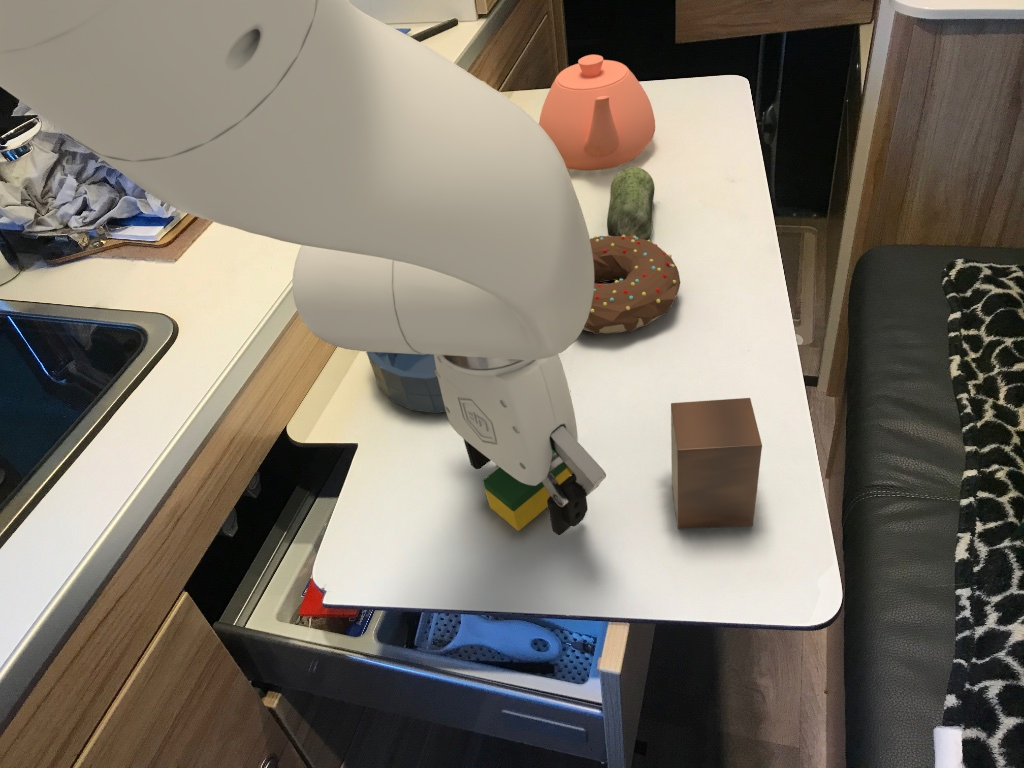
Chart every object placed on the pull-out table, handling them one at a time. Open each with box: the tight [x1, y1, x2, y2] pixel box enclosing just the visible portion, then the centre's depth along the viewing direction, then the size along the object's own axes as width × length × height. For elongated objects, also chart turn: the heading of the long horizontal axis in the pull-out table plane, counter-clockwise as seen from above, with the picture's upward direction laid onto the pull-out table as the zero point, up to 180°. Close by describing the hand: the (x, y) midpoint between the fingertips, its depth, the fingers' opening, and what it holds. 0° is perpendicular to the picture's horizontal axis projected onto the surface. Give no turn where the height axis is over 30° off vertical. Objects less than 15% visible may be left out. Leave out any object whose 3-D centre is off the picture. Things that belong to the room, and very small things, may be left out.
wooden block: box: [670, 397, 763, 530], centre depth 54 cm, size 6×4×9 cm
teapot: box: [538, 54, 656, 172], centre depth 97 cm, size 22×16×12 cm
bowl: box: [366, 352, 446, 414], centre depth 72 cm, size 15×15×5 cm
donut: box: [582, 235, 681, 335], centre depth 75 cm, size 14×14×5 cm
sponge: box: [482, 448, 571, 532], centre depth 59 cm, size 6×4×4 cm, turn 132°
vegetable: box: [606, 166, 656, 241], centre depth 85 cm, size 14×5×5 cm, turn 171°
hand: (527, 488), depth 59 cm, fingers open, 9 cm apart
